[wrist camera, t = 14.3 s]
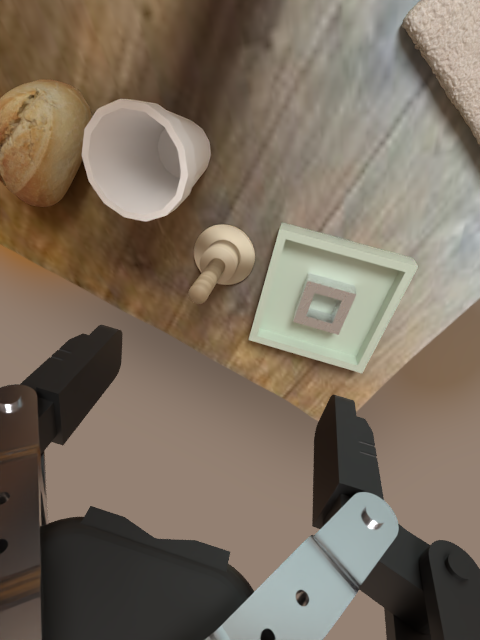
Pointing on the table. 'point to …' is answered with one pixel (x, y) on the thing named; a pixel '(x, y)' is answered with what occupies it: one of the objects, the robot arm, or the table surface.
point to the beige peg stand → (221, 259)
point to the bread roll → (41, 140)
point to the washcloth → (451, 50)
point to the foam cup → (143, 158)
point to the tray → (341, 265)
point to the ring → (329, 289)
